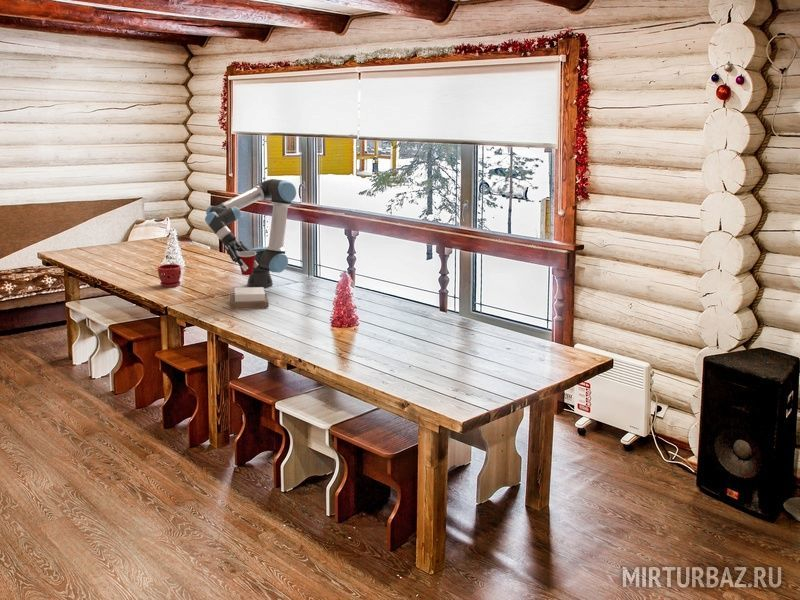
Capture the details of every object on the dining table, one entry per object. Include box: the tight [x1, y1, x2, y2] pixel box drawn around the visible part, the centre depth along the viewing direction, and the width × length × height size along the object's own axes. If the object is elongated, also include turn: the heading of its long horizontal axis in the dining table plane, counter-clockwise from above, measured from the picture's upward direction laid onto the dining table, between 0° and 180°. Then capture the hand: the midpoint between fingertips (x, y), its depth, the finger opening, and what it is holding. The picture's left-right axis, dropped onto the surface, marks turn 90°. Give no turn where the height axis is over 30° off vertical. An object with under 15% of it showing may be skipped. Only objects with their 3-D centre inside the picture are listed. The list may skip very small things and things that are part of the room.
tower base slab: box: [229, 292, 270, 310], centre depth 444 cm, size 20×20×4 cm
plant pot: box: [157, 263, 182, 288], centre depth 479 cm, size 13×13×12 cm
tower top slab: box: [234, 286, 266, 302], centre depth 443 cm, size 16×16×4 cm
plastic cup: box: [237, 251, 256, 276], centre depth 438 cm, size 11×11×12 cm
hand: (251, 267), depth 438 cm, fingers closed on plastic cup, 9 cm apart
